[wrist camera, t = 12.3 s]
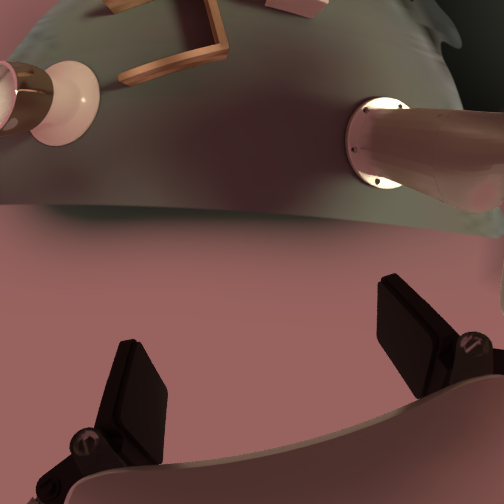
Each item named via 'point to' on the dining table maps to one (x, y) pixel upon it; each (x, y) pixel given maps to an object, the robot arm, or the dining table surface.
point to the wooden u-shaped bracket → (117, 3)
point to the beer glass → (34, 98)
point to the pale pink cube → (299, 6)
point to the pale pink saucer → (87, 108)
